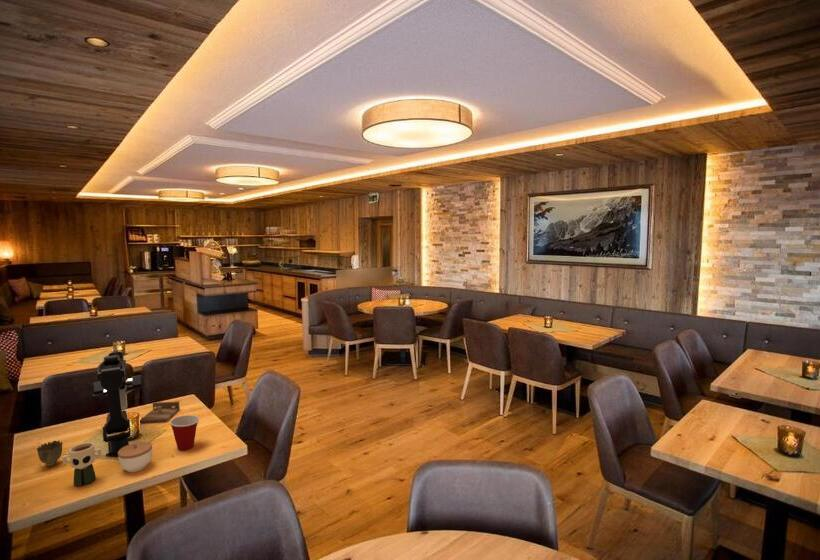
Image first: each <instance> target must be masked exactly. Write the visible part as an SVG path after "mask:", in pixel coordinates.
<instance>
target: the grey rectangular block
mask: <svg viewBox="0 0 820 560" xmlns="http://www.w3.org/2000/svg"><path fill="white" fill-rule="evenodd" d="M120 396H121V405H122V411H124V410H127V409H128V400H127V399H128V398H127V397H128V396H127V394H126V387H125V389H120Z"/></svg>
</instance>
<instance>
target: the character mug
mask: <svg viewBox="0 0 820 560" xmlns="http://www.w3.org/2000/svg"><path fill="white" fill-rule="evenodd" d="M68 453H69V454H65V455H63V456H62V463H63V465H69V464H70V467H71V468H72V469H74V471H73V485H74V486H82V483H84V485H88V484H89V483H92V482H93V481H94V480H95V479H96V478H97V477H96V471H95V469H94V465H93V463H94V462H95V461H96V459H97V458H101V457H102V456H103V454H102V448H100V447H99V448H95V443H94V442H91V441H90V442H89V441H87V442H82V443H79V444H76V445H73V446H72V447H70V448H69V450H68ZM96 453H97V454H96ZM68 458H69V460H67V459H68Z"/></svg>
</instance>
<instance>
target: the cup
mask: <svg viewBox="0 0 820 560" xmlns="http://www.w3.org/2000/svg"><path fill="white" fill-rule="evenodd" d="M36 452H37V455H38V458H39V461H40V462H41V463H43V464H45V465H44V466H45V467H46V468H47V467H48V468H49V467H54V466H55V465H57V464H58V462H59V461H58V460H59V459H60V458H61V456H62V454H63V453H62V452H63V441H60V440H53V441H48V442H47V443H45V442H44V443H43V444H41V445H40V446H38V447H36Z"/></svg>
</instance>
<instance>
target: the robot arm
mask: <svg viewBox="0 0 820 560" xmlns="http://www.w3.org/2000/svg"><path fill="white" fill-rule="evenodd" d="M124 356H125V354H124V352H122V351H119V349H117V350H112V352H110V353H108V355H106V356H104V357H103V361H101V362H100V364H99V365H98V366H97V372H96V373H97V381H93V383H91V385H92V391H91V392H92V396H93V397H99V396H100V397H101V396H107V397H106V398H107V404H108V413H107V415H106V416H107V417H106V423H104V426H103V427H102V441H103V442H104V443H106V444H107V447H108V449H107V450H108V452H107V453H106V454H105V456H106V457H115V458H116V457H117V458H119V457H118V451H119V450H120V449H121V448H123V447H125V446H127V445H129V438H131V419H130V418H128V413H127V411H126V409H124V410H122V405H121V396H120V389H125V387H126V395H127V394H129V393H131V392H132V391H135V390H141V389H143V388H144V382H143V375H142V374H140V375H139V374H138V375H132V376H131V378H126V369H127V360H126V359H124V358H125V357H124Z"/></svg>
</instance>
